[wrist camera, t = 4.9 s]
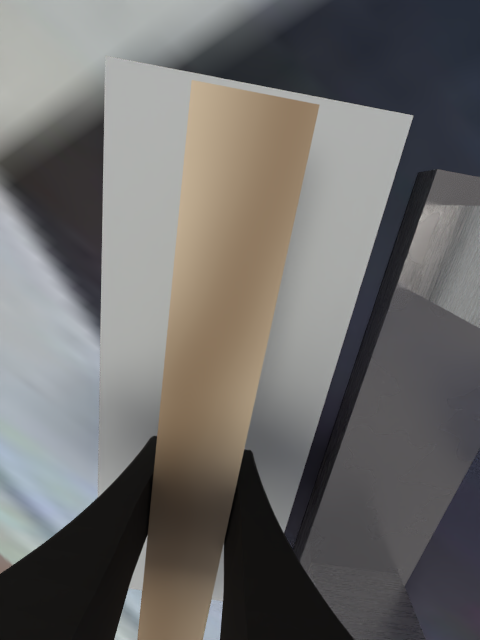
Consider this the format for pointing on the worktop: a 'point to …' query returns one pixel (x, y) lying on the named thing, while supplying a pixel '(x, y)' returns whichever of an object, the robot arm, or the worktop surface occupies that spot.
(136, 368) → the mat
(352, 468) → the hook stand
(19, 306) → the worktop surface
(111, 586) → the robot arm
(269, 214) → the rail
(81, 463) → the worktop surface
